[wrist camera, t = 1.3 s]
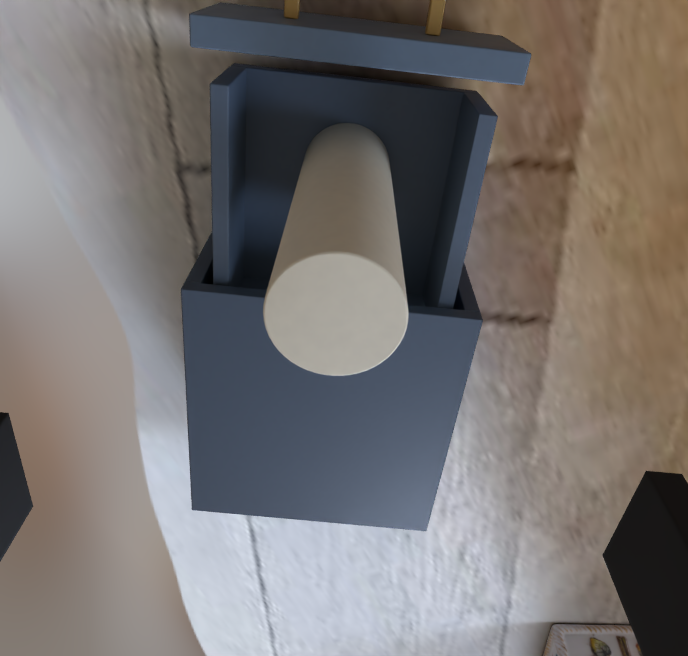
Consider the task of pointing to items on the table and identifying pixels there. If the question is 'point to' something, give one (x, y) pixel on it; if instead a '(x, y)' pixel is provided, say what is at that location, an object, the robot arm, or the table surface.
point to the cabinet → (318, 413)
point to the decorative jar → (591, 640)
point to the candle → (339, 259)
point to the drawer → (358, 108)
